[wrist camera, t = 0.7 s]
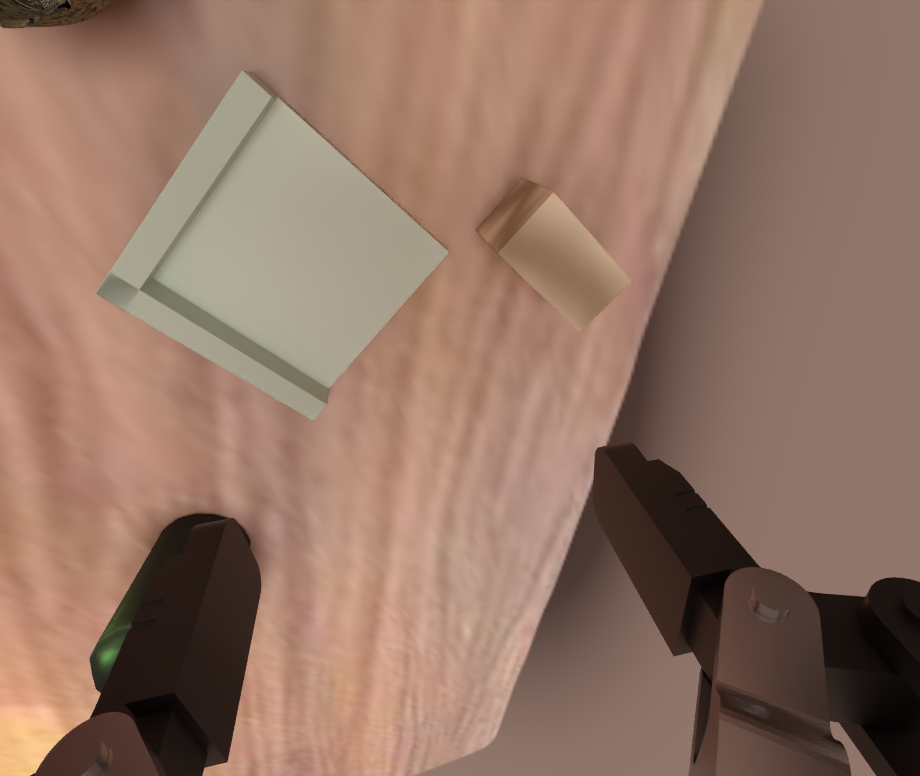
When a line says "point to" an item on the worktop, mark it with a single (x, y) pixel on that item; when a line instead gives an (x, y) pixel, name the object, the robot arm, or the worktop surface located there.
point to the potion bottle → (140, 595)
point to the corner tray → (271, 252)
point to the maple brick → (554, 252)
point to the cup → (47, 12)
